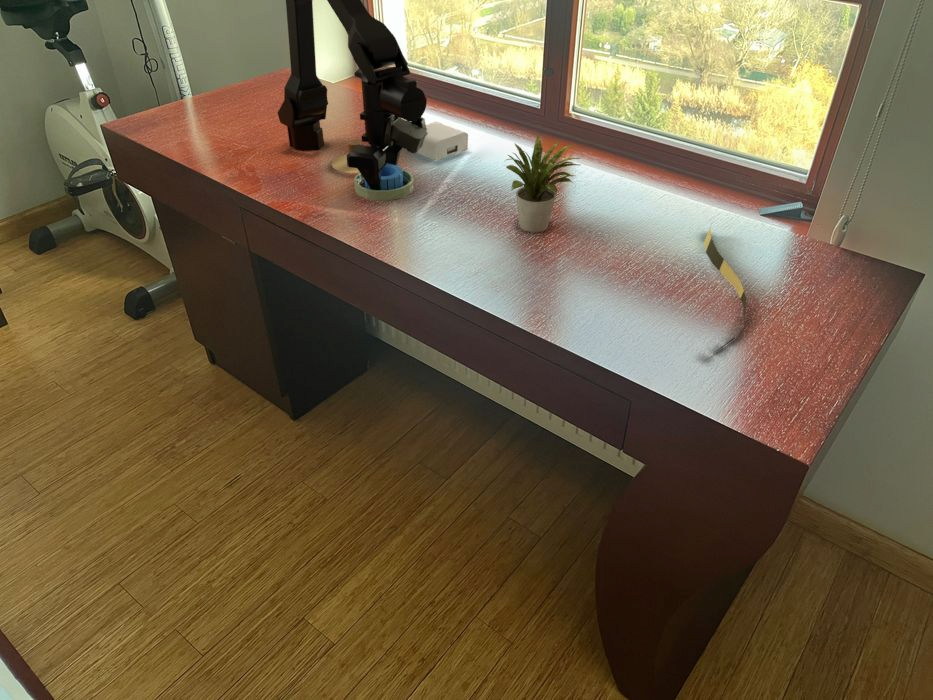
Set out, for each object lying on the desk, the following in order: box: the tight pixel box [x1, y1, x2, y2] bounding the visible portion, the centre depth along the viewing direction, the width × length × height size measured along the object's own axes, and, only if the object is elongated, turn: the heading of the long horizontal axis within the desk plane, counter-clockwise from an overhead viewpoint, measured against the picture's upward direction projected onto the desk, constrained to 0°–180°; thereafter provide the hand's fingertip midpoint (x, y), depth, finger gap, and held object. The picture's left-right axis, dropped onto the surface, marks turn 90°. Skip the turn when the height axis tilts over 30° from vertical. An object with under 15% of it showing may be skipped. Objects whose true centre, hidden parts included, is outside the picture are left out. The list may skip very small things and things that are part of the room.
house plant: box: [503, 134, 581, 233], centre depth 129 cm, size 14×14×16 cm
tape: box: [703, 220, 748, 358], centre depth 116 cm, size 6×38×4 cm, turn 166°
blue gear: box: [364, 164, 404, 191], centre depth 144 cm, size 7×7×4 cm
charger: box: [416, 121, 469, 162], centre depth 161 cm, size 5×9×15 cm
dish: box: [353, 168, 415, 202], centre depth 145 cm, size 11×11×3 cm
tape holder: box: [331, 139, 362, 174], centre depth 153 cm, size 10×10×5 cm
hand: (384, 185), depth 145 cm, fingers closed on blue gear, 7 cm apart
